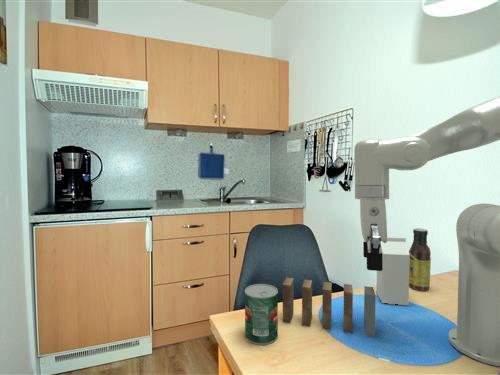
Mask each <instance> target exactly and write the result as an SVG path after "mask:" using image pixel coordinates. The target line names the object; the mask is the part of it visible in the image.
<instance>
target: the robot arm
mask: <svg viewBox="0 0 500 375" xmlns="http://www.w3.org/2000/svg"><path fill="white" fill-rule="evenodd" d="M498 141H500V95H499V96H497V97H494V98H492V99H489V100H486V101H484V102H482V103H479V104H477V105H474V106H472V107H469V108H467V109H465V110H463V111H461V112H459V113H457V114H455V115H452V117H450V118H448V119H446V120H444V121H442V122H440V123H438V124H436V125H434V126H432V127H430V128H426V129H425V130H423V131H420V132H417V133H416V134H412V135H407V136H403V137H397V138H390V139H367V140H361V141H358V142H356V143H355V145H354V149H353V150H354V152H353V153H354V157H353V158H354V199H355V200H359V206H360V207H359V208H360V211H359V212H360V227H361V230H360V231H361V235H362V239H363V242H362V243H363V244H362V245H363V258H364V259H365V258H366V270H368V271H374V272H375V271H376V272H377V271H382V270H383V264H382V248H381V240H382V241H383V242H384V243H386V242H387V238H388V227H387V226H388V225H387V206H386V200H389V199H390V170H392V169H393V170H397V171H414V170H418V169H420V168H422V167H424V166H425V165H427V163H429V162H430V161H433V160H435V159H439V158H441V157H445V156H448V155H452V154H454V153H459V152H462V151H463V152H464V151H468V150H473V149H478V148H480V147H483V146H488V145H490V144H492V143H495V142H498ZM455 225H456V228H455V229H456V230H455V231H456V238H457V239H456V241H457V247H458V278H457V279H458V280H457V282H458V284H457V286H458V287H457V314H456V315H457V317H456V319H457V320H456V321H457V322H456V327H455V328H451V329H450V330H449V331H448V334H447V335H448V336H447V337H448V341H449V343H450V345H452V346H453V347H454V348H455V349H456V350H457V351H459V352H460V353H462V354H464V355H465V356H467V357H469V358H470V359H474V360H476V361H479V362H482V363H484V364H488V365H491V366H495V367H500V205H498V204H492V203H477V204H473V205H469V206H468V207H466V208H465V209H463V211H461V213H460V214H459V216H458V217H457V219H456V224H455Z"/></svg>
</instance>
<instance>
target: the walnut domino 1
mask: <svg viewBox="0 0 500 375" xmlns="http://www.w3.org/2000/svg"><path fill="white" fill-rule="evenodd" d="M294 278H295V277H293V278H292V277H286V278H284V281H283V284H282V323H284V324H291V323H292V320H293V317H294V313H295V312H294V303H295V302H294V297H295V296H294V294H295V293H294V289H295V288H294V280H295V279H294Z"/></svg>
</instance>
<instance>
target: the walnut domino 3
mask: <svg viewBox="0 0 500 375" xmlns="http://www.w3.org/2000/svg"><path fill="white" fill-rule="evenodd" d="M332 283H333V282H330V281H323V285H322V299H321V300H322V305H321V306H322V308H321V309H322V310H321V311H322V317H321V318H322V321H321V322H322V324H321V325H322V327H321V328H322V330H328V331H331V330H332V310H333V309H332V292H333V291H332V290H333V286H332V285H333V284H332Z"/></svg>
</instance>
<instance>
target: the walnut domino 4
mask: <svg viewBox="0 0 500 375" xmlns="http://www.w3.org/2000/svg"><path fill="white" fill-rule="evenodd" d="M353 296H354V291H353V284H349V283H343V317H342V318H343V333H347V334H353V320H354V319H353V318H354V317H353V314H354V313H353V311H354V310H353V308H354V304H353V303H354V302H353V300H354V299H353V298H354V297H353Z"/></svg>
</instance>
